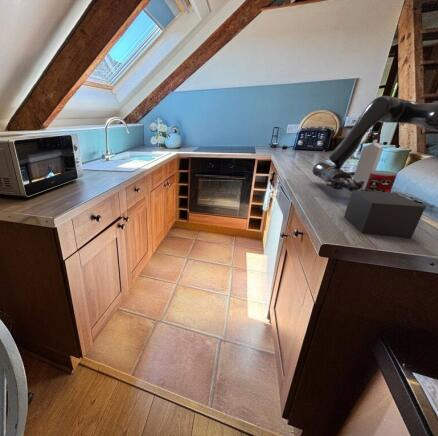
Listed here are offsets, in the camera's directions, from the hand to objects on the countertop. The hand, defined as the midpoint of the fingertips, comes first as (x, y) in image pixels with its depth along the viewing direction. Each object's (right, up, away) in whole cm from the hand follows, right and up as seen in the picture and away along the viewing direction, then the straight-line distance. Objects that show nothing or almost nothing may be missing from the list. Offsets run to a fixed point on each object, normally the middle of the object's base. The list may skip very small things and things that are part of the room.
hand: (354, 189), depth 91 cm
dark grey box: (-6, -14, -14) cm, 21 cm away
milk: (+26, +4, +27) cm, 38 cm away
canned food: (+18, -3, +11) cm, 21 cm away
